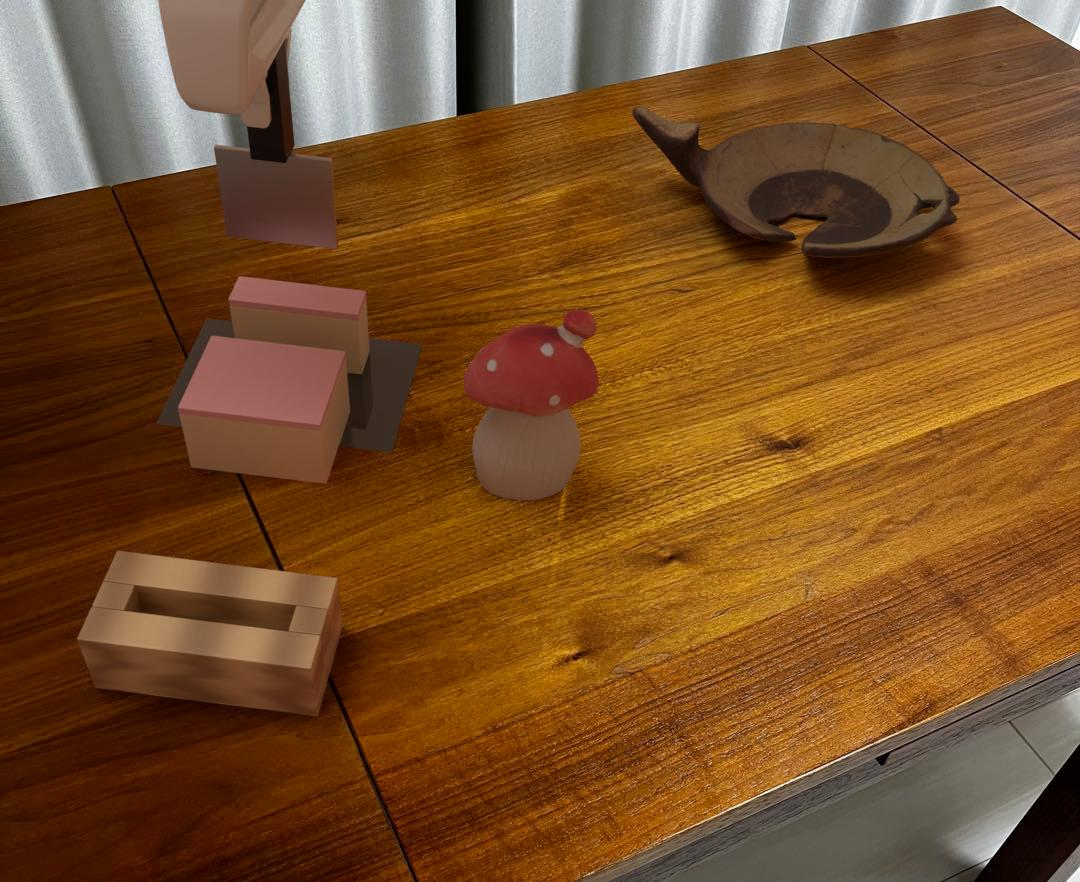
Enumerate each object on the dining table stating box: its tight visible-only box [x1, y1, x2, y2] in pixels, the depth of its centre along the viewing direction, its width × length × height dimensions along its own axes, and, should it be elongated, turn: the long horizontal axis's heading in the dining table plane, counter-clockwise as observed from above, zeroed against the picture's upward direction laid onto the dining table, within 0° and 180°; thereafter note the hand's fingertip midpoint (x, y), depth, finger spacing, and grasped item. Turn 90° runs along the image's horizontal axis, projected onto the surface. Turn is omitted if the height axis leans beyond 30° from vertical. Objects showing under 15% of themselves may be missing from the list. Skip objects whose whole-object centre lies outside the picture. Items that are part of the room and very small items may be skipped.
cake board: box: [155, 318, 423, 453], centre depth 92 cm, size 18×18×1 cm
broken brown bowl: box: [631, 105, 961, 259], centre depth 112 cm, size 22×30×8 cm
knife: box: [213, 40, 339, 250], centre depth 80 cm, size 8×2×15 cm, turn 84°
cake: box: [178, 336, 350, 485], centre depth 87 cm, size 10×8×6 cm
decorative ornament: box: [463, 309, 600, 501], centre depth 84 cm, size 9×6×15 cm
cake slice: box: [227, 275, 370, 374], centre depth 94 cm, size 10×3×6 cm, turn 84°
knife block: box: [76, 550, 344, 717], centre depth 74 cm, size 14×7×6 cm, turn 84°
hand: (266, 107), depth 78 cm, fingers closed on knife, 2 cm apart
